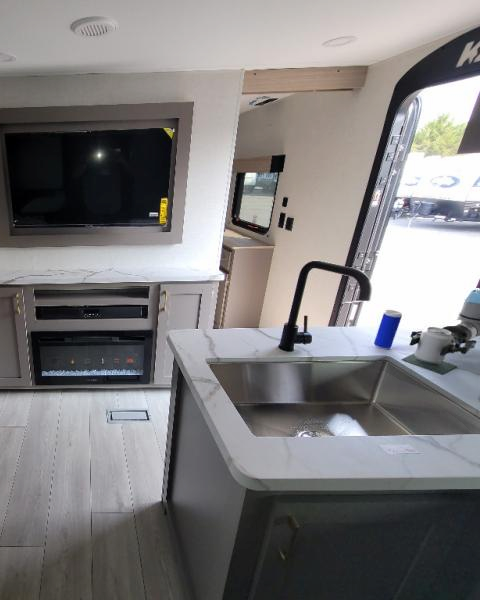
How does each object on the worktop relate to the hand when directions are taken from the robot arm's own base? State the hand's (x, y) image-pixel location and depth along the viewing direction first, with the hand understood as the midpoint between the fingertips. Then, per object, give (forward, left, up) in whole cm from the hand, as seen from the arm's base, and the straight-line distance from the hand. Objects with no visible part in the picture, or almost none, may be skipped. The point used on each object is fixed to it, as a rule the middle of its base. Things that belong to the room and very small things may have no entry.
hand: (426, 346), depth 115 cm
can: (0, -5, -7) cm, 8 cm away
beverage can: (+13, -4, -7) cm, 16 cm away
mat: (-1, -4, -7) cm, 8 cm away
